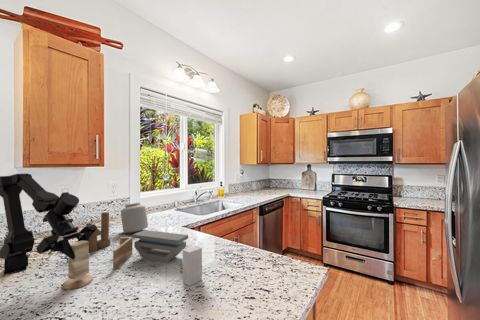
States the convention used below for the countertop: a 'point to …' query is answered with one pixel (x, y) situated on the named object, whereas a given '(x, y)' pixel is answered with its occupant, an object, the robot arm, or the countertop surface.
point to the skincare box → (192, 265)
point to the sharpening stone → (159, 245)
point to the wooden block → (104, 234)
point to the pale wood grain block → (79, 260)
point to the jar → (134, 218)
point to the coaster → (77, 282)
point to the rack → (122, 252)
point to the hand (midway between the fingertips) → (81, 255)
